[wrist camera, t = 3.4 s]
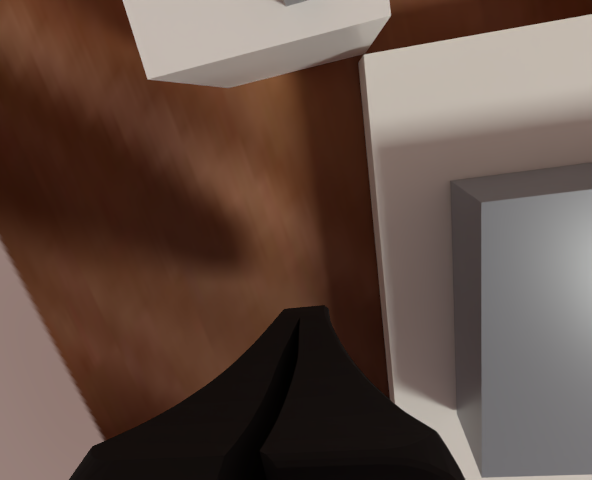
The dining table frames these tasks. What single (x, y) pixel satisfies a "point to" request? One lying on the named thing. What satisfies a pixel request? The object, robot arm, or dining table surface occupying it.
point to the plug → (249, 36)
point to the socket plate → (454, 166)
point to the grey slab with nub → (524, 319)
